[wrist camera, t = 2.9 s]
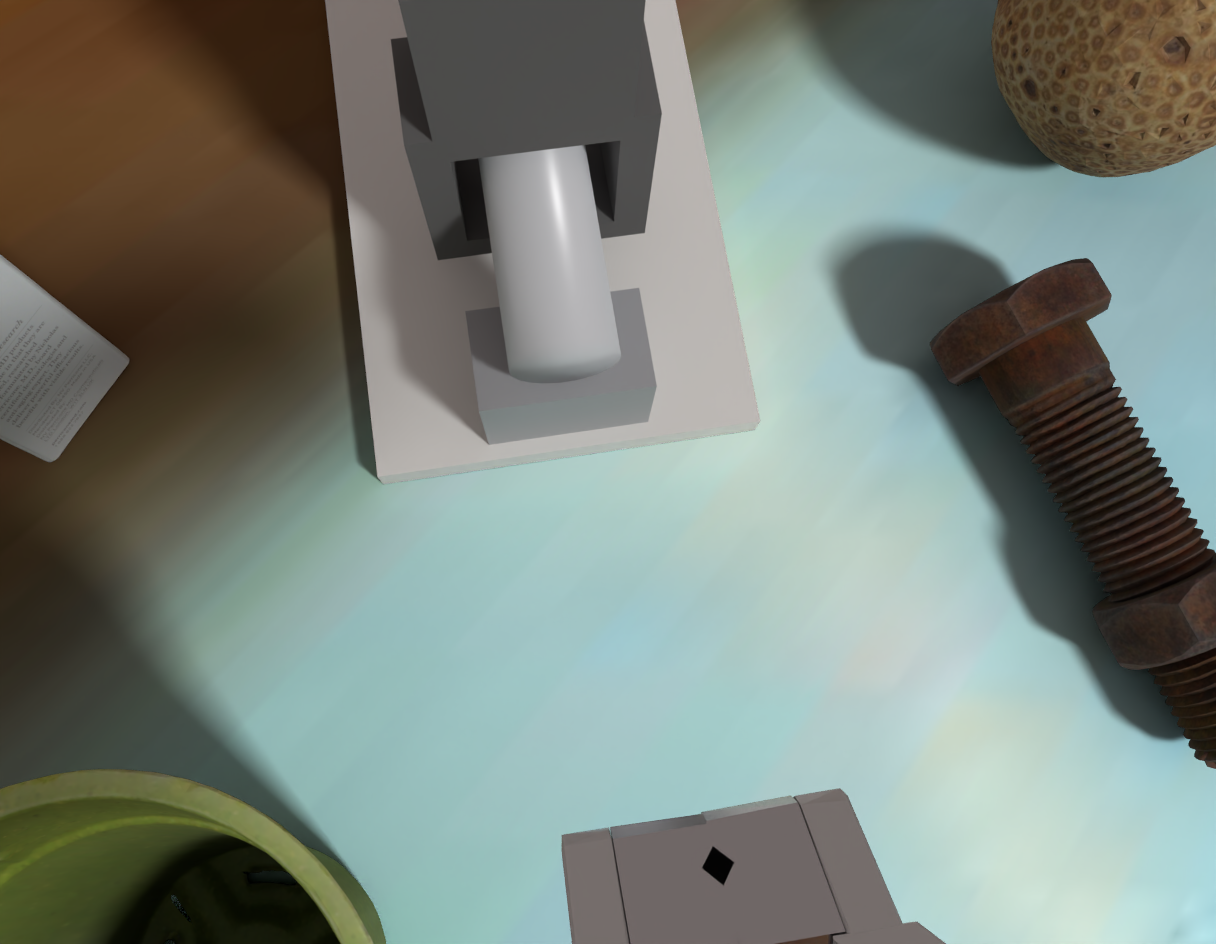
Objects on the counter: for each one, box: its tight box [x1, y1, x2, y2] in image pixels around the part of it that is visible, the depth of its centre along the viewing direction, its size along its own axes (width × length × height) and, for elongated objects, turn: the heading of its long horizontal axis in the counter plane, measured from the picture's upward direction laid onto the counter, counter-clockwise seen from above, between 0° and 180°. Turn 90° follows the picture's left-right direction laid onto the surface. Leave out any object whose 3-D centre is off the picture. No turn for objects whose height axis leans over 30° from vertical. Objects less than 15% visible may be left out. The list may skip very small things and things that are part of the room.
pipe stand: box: [325, 0, 760, 484], centre depth 32 cm, size 27×12×8 cm, turn 9°
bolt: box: [930, 258, 1216, 769], centre depth 31 cm, size 6×5×15 cm
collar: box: [391, 0, 662, 260], centre depth 26 cm, size 3×6×11 cm, turn 99°
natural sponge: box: [991, 0, 1216, 177], centre depth 31 cm, size 9×9×10 cm
